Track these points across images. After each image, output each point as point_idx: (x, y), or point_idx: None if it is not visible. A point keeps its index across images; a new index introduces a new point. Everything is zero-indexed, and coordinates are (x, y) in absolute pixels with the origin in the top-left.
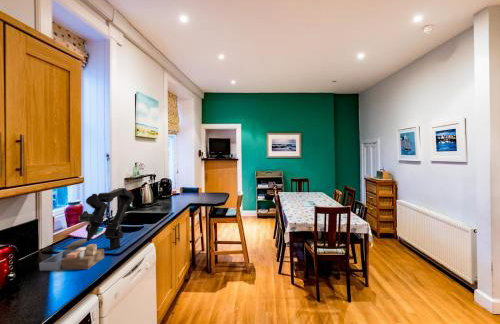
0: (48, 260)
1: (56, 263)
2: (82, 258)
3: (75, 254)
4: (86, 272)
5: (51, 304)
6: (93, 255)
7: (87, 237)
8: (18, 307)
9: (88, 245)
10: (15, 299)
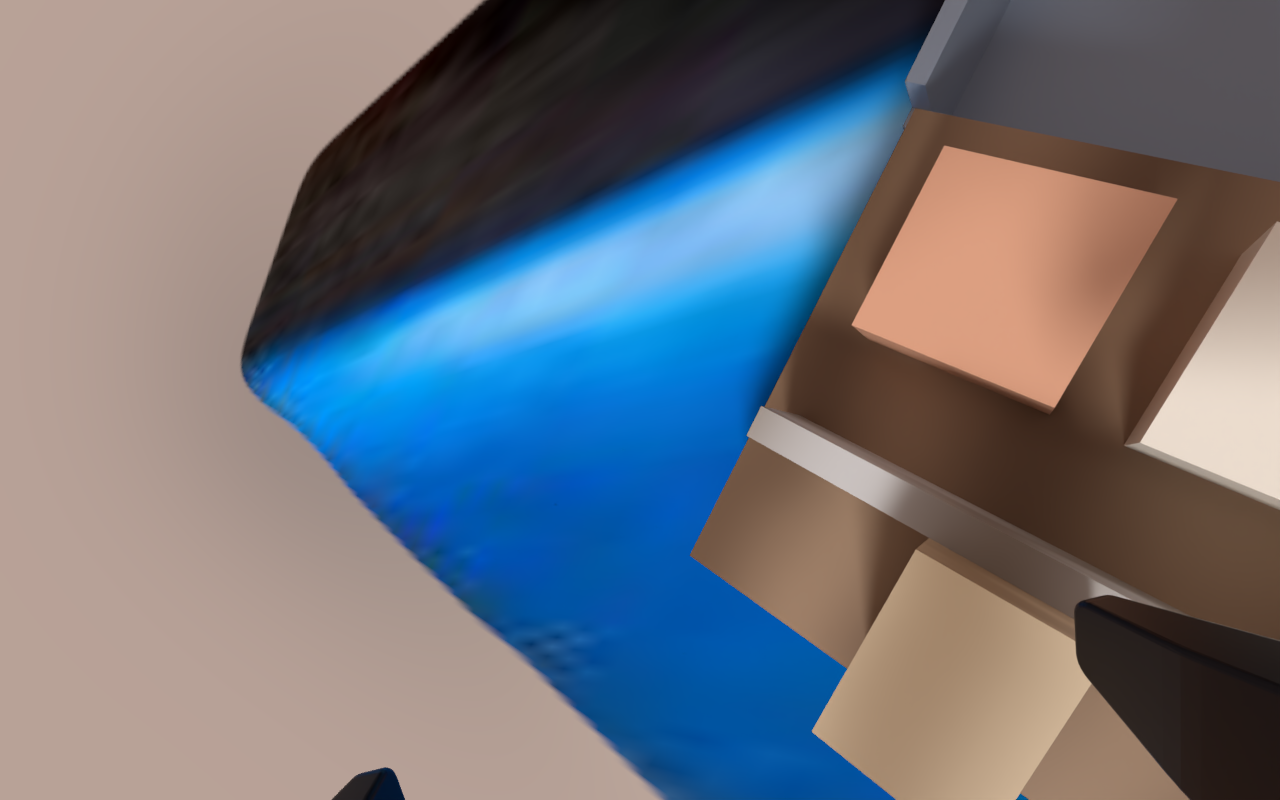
0: None
1: (920, 60)
2: (792, 470)
3: (872, 332)
4: (657, 523)
5: (318, 351)
6: (849, 658)
7: (1231, 696)
8: (370, 164)
9: (965, 625)
10: (463, 74)
